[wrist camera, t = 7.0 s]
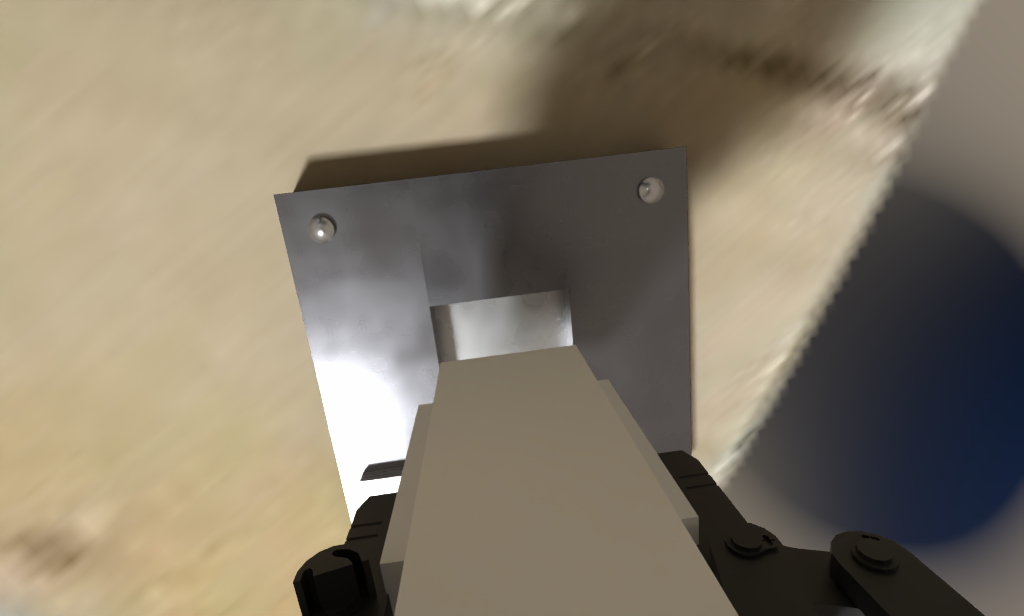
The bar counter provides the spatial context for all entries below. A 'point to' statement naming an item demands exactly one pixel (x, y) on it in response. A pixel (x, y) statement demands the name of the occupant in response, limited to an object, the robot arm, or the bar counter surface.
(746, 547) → the robot arm
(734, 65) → the bar counter surface
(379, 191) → the socket
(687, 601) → the plug
